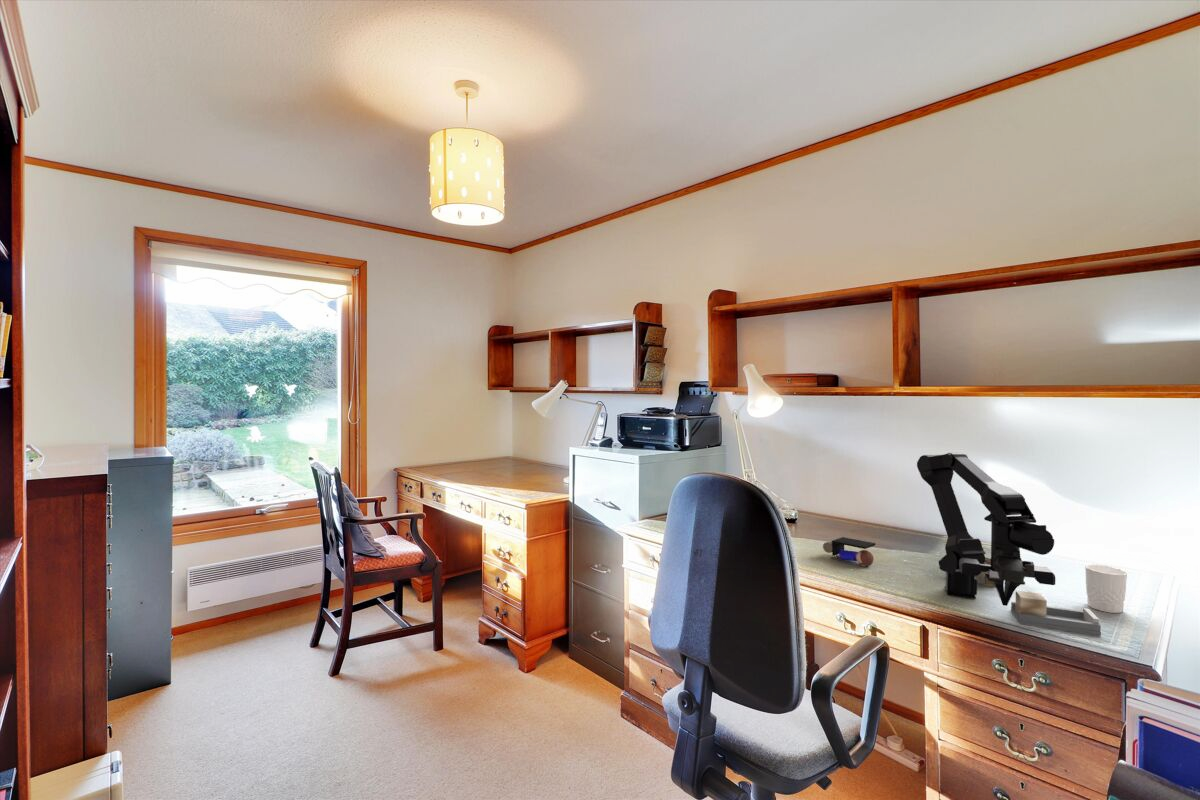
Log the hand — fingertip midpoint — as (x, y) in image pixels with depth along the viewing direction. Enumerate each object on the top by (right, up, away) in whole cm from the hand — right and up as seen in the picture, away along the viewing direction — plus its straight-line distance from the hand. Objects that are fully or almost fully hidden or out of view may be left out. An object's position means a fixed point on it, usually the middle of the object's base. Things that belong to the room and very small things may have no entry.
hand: (1004, 605), depth 138 cm
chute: (+9, -3, -4) cm, 10 cm away
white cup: (+29, -3, +4) cm, 29 cm away
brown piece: (+9, -3, +25) cm, 26 cm away
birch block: (+5, -2, -2) cm, 6 cm away
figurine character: (-20, -2, +43) cm, 47 cm away
